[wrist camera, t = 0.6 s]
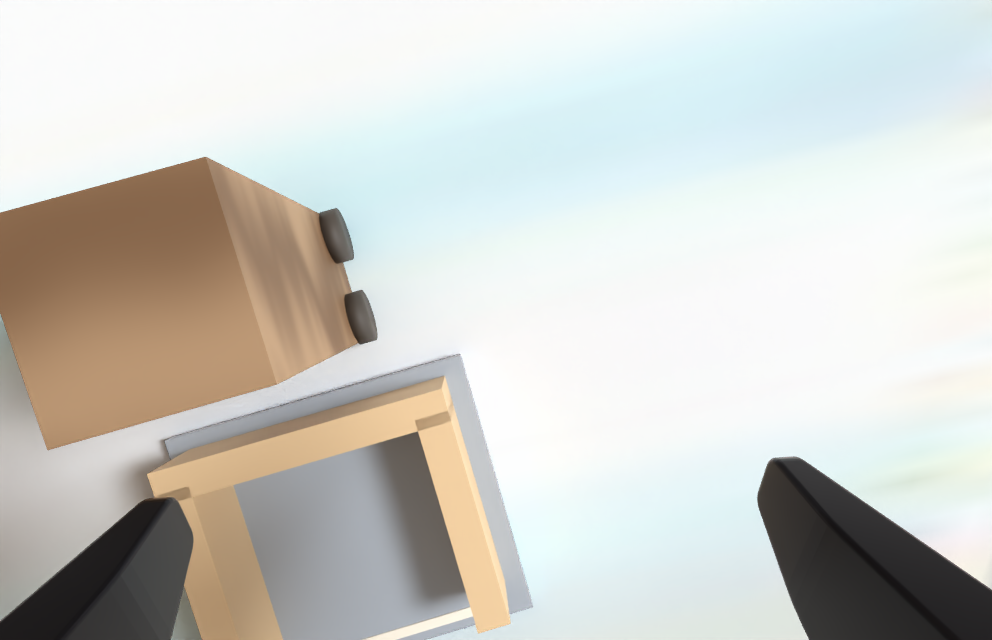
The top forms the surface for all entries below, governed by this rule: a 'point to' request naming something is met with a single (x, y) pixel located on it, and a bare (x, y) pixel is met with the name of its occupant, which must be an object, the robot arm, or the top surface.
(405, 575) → the dock
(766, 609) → the top surface
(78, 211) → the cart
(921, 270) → the top surface
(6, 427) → the top surface
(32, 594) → the robot arm
